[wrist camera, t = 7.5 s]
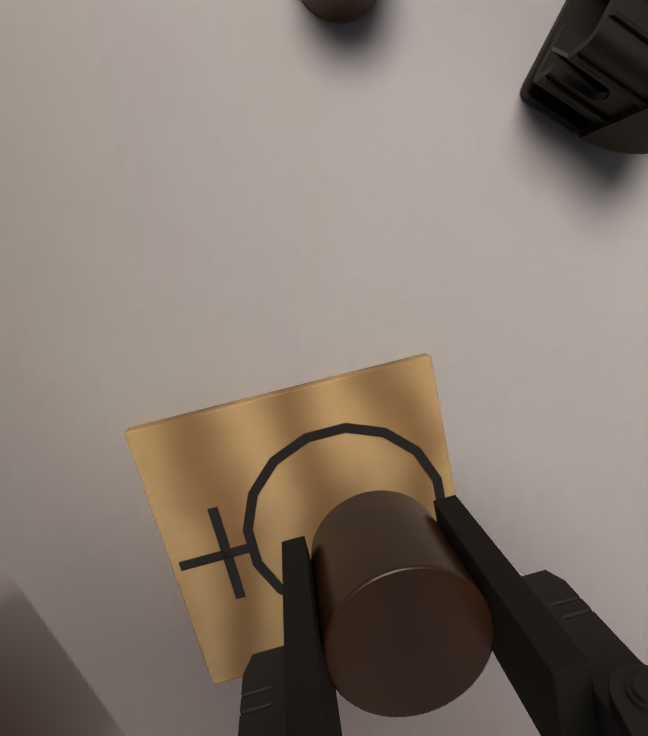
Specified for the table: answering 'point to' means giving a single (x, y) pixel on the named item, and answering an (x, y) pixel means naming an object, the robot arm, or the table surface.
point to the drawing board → (280, 488)
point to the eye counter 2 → (396, 607)
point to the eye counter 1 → (339, 9)
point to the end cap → (596, 73)
